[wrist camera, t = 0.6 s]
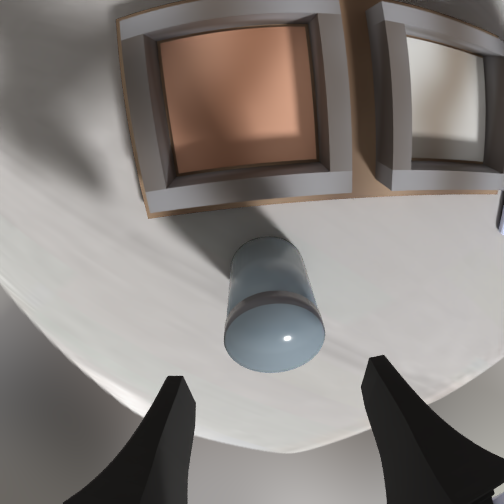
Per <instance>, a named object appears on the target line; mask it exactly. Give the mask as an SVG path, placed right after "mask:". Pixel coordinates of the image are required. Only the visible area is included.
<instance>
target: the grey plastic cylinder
mask: <svg viewBox="0 0 504 504" xmlns="http://www.w3.org/2000/svg"><path fill="white" fill-rule="evenodd" d="M324 338H325V329H324V325H323V321H322V318H321V315H320V312H319V310H318V308H317V305H316V301H315V298H314V294H313V291H312V288H311V284H310V281H309V278H308V275H307V271H306V268H305V265H304V262H303V258H302V256H301V254H300V252H299V251H298V249H297V248H296V247H295V246H294V245H292V244H291V243H289V242H288V241H286V240H283V239H280V238H276V237H261V238H257V239H254V240H251V241H249V242H247V243H246V244H244V245H243V246H242V247H241V248H240V249H239V250H238V251H237V252H236V254H235V255H234V257H233V260H232V263H231V272H230V284H229V296H228V308H227V319H226V323H225V332H224V345H225V348H226V350H227V352H228V354H229V355H230V357H231V358H232V359H233V360H234V361H235V362H237V363H238V364H239V365H241V366H243V367H245V368H247V369H250V370H253V371H258V372H265V373H276V372H284V371H288V370H292V369H295V368H297V367H300V366H302V365H304V364H305V363H307V362H308V361H310V360H311V359H312V358H313V357H314V356H315V355H316V354H317V353H318V352H319V350H320V349H321V347H322V345H323V342H324Z"/></svg>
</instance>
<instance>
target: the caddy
mask: <svg viewBox="0 0 504 504" xmlns="http://www.w3.org/2000/svg"><path fill="white" fill-rule="evenodd" d="M116 28H117V41H118V52H119V62H120V70H121V79H122V86H123V94H124V101H125V107H126V114H127V120H128V126H129V132H130V137H131V143H132V148H133V153H134V158H135V163H136V168H137V173H138V177H139V182H140V186H141V191H142V195H143V199H144V204H145V208H146V212H147V216H148V219H150V218H157V217H165V216H172V215H180V214H188V213H196V212H204V211H213V210H221V209H230V208H240V207H249V206H260V205H270V204H281V203H293V202H305V201H318V200H332V199H347V198H364V197H384V196H408V195H445V194H497V193H498V190H504V41H502V40H500V39H499V38H498V36H497V35H495V34H492V33H490V32H488V31H486V30H484V29H481V28H479V27H477V26H474V25H472V24H469V23H467V22H464V21H462V20H459V19H456V18H453V17H451V16H448V15H445V14H442V13H439V12H436V11H432V10H429V9H425V8H422V7H418V6H415V5H411V4H407V3H402V2H398V1H393V0H183V1H179V2H174V3H170V4H166V5H162V6H158V7H154V8H150V9H147V10H143V11H140V12H137V13H133V14H130V15H127V16H124V17H121V18H118V19H116Z"/></svg>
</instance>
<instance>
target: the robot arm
mask: <svg viewBox="0 0 504 504" xmlns="http://www.w3.org/2000/svg"><path fill="white" fill-rule="evenodd" d="M499 232H500V234H502V235H504V207H503V212H502V217H501V221H500V226H499ZM361 390H362V395H363V400H364V405H365V409H366V412H367V416H368V419H369V422H370V425H371V428H372V431H373V434H374V437H375V440H376V443H377V446H378V449H379V453H380V457H381V461H382V467H383V473H384V479H385V487H386V497H387V504H504V492H503V493H501V494H499V495H497V496H495V497H493V498H492V496H493V495H494V489H495V488H496V487H498V486H500V485H501V484H502V483H504V458H501V457H499V456H497V455H495V454H493V453H491V452H489V451H487V450H485V449H483V448H481V447H480V446H478V445H476V444H475V443H473V442H472V441H470V440H469V439H467V438H466V437H464V436H463V435H461V434H460V433H459V432H457V431H456V430H454V428H452V427H451V426H450V425H448V424H447V423H446V422H445V421H444V420H443V419H441V418H440V417H439V416H438V415H437V414H436V413H435V412H434V411H433V410H432V409H431V408H430V407H429V406H428V405H427V404H426V403H425V402H424V401H423V400H422V399H421V398H420V397H419V396H418V395H417V394H416V392H415V391H414V390H413V389H412V388H411V387H410V386H409V385H408V383H407V382H406V381H405V380H404V379H403V378H402V376H401V375H400V374H399V373H398V372H397V370H396V369H395V368H394V367H393V365H392V364H391V363H390V362H389V360H388V359H387V358H386V357H385V356H384V355H381V356H376V357H371V358H369V361H368V364H367V368H366V372H365V375H364V378H363V382H362V385H361ZM195 414H196V402H195V400H194V398H193V396H192V394H191V392H190V390H189V388H188V386H187V383H186V381H185V379H184V377H183V376H168V377H167V378H166V380H165V382H164V384H163V385H162V387H161V389H160V391H159V393H158V395H157V397H156V398H155V400H154V402H153V404H152V405H151V407H150V409H149V410H148V412H147V414H146V415H145V417H144V419H143V420H142V422H141V423H140V425H139V426H138V428H137V429H136V431H135V432H134V434H133V435H132V437H131V438H130V440H129V441H128V442H127V444H126V445H125V446H124V447H123V449H122V450H121V451H120V452H119V454H118V455H117V456H116V457H115V458H114V460H113V461H112V462H111V463H110V464H109V465H108V466H107V467H106V468H105V469H104V470H103V471H102V472H101V473H100V474H99V475H98V476H97V477H96V478H95V479H93V480H92V481H91V482H90V483H89V484H88V485H87V486H85V487H84V488H83V489H82V490H80V491H79V492H77V493H76V494H75V495H73V496H72V497H70V498H69V499H68V500H66V501H65V502H63V504H187V485H188V483H187V482H188V469H189V463H190V456H191V449H192V443H193V436H194V429H195Z"/></svg>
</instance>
